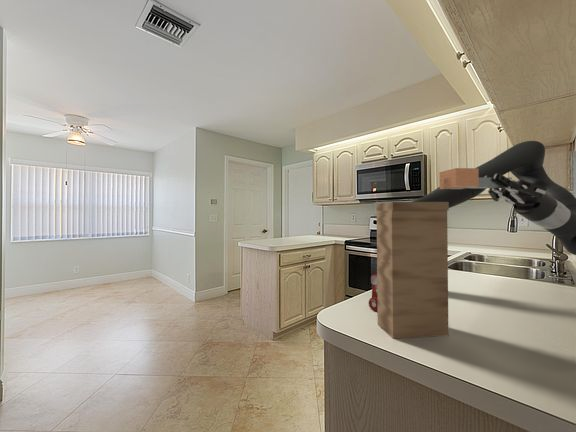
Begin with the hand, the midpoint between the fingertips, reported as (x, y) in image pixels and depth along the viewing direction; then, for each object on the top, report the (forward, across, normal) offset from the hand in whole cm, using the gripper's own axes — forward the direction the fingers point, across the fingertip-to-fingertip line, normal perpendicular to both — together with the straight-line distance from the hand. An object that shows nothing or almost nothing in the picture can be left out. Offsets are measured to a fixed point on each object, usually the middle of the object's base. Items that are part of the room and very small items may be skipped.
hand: (490, 177), depth 68 cm
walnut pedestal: (0, 0, +45) cm, 45 cm away
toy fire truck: (0, -12, +45) cm, 46 cm away
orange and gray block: (+2, 0, +4) cm, 4 cm away
